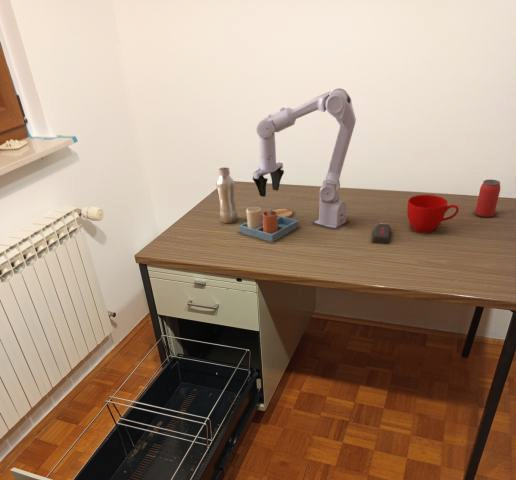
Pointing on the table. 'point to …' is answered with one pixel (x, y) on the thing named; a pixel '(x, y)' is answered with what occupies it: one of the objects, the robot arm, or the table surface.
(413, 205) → the ceramic cup
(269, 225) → the tumbler
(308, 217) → the table surface
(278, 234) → the rack
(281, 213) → the coaster
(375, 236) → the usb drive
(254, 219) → the cream tumbler
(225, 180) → the plastic bottle
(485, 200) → the beer can
